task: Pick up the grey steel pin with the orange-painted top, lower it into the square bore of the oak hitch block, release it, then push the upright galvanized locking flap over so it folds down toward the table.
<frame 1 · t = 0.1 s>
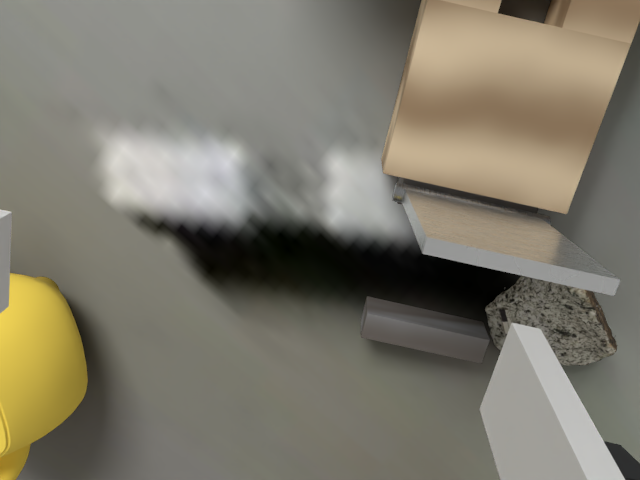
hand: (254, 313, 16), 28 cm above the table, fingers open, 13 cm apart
hitch block: (503, 53, 40), on the table
rock sample: (543, 311, 46), on the table
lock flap: (490, 231, 34), point 10 cm above the table, hinge at -5.0°
teapot: (24, 343, 50), on the table
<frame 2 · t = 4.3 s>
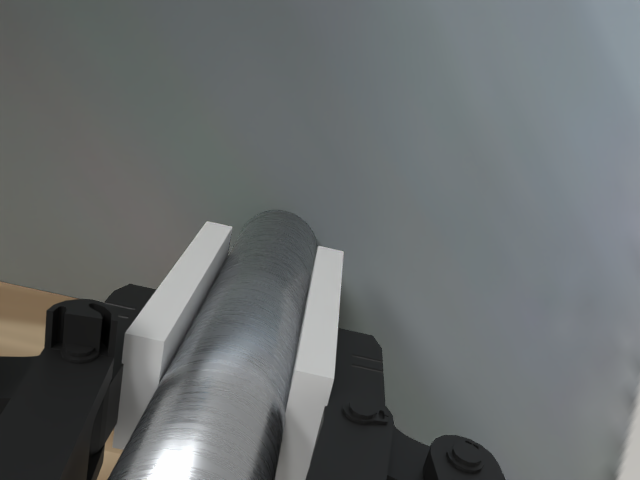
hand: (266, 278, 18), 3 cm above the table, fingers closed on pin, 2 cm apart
pin: (277, 247, 20), on the table, touching gripper
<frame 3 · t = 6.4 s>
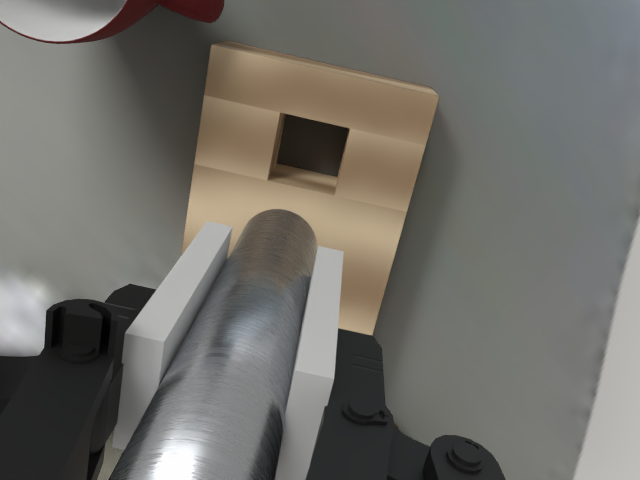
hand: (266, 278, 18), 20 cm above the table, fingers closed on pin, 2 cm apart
hitch block: (300, 202, 38), on the table
pin: (278, 245, 21), point 17 cm above the table, touching gripper
when the fingers open (5 cm above the table, at t = 8.7 s): pin drops 2 cm, resting in hitch block.
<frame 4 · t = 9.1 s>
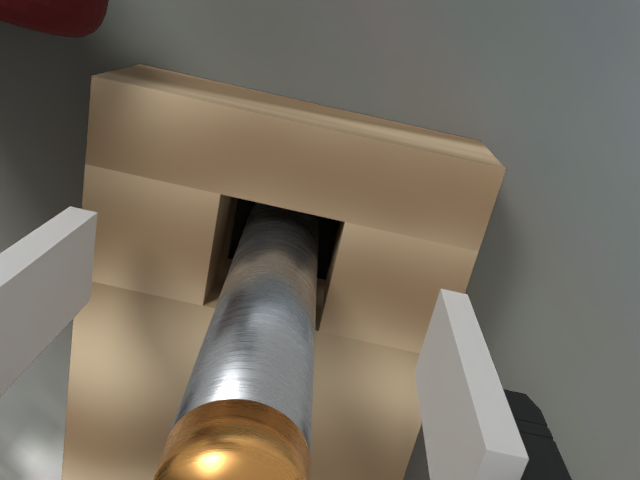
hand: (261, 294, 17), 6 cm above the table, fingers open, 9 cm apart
hitch block: (267, 316, 24), on the table
pin: (283, 223, 23), resting in hitch block
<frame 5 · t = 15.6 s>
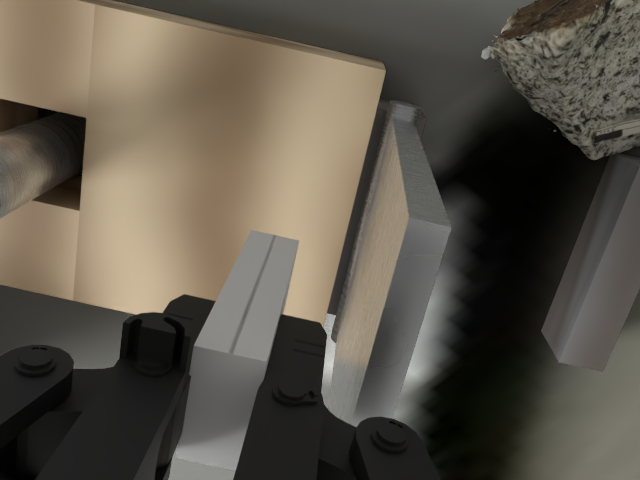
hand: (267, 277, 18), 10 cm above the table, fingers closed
hitch block: (166, 154, 28), on the table
rock sample: (626, 43, 25), on the table
pin: (79, 137, 28), resting in hitch block
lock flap: (372, 292, 19), point 10 cm above the table, hinge at -1.2°, touching gripper
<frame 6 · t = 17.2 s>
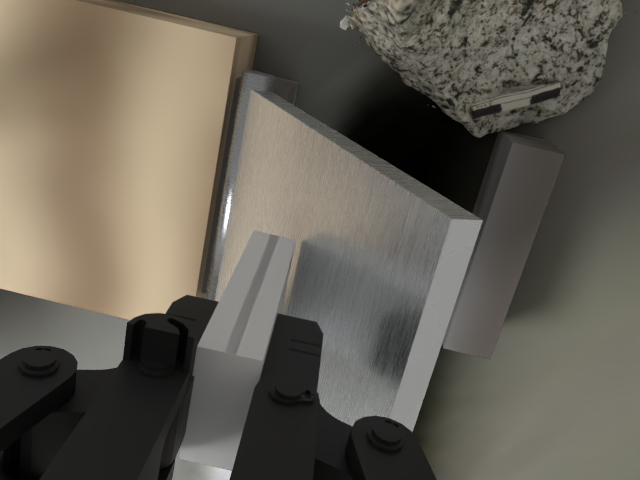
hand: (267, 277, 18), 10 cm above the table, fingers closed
hitch block: (48, 129, 27), on the table
rock sample: (510, 15, 24), on the table, touching hitch block
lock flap: (295, 275, 19), point 9 cm above the table, hinge at 31.7°, touching gripper
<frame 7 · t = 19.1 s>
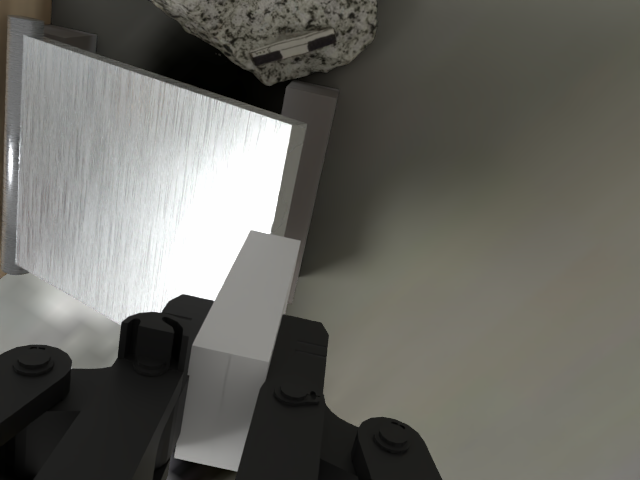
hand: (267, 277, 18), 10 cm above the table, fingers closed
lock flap: (125, 200, 21), point 7 cm above the table, hinge at 62.7°
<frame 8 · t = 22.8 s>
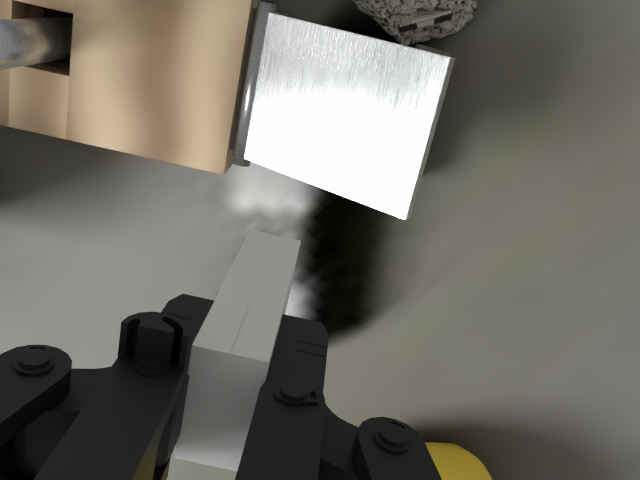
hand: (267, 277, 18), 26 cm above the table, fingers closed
hitch block: (127, 49, 42), on the table
pin: (70, 37, 42), resting in hitch block
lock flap: (331, 111, 36), point 7 cm above the table, hinge at 62.7°
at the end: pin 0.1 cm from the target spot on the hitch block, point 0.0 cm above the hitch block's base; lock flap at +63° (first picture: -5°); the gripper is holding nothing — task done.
